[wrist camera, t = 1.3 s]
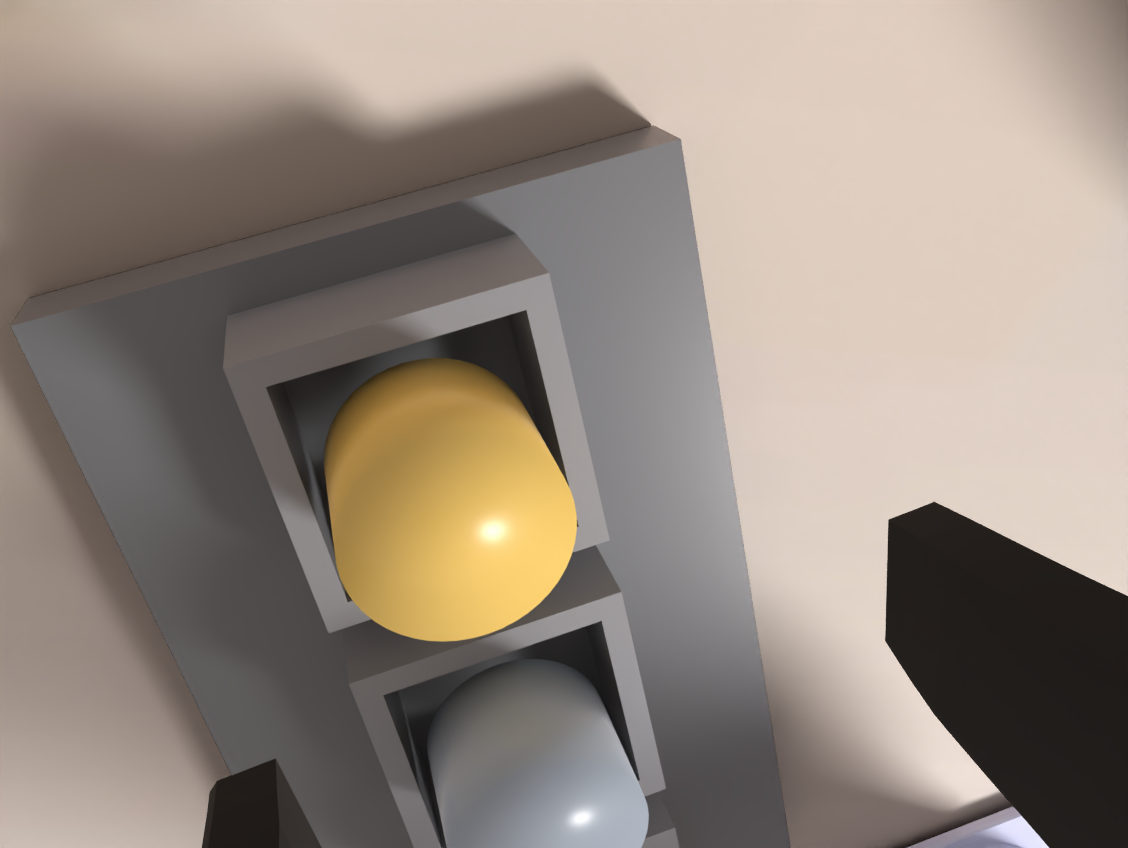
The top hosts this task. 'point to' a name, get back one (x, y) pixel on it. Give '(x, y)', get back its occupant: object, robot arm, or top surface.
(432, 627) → the amber button
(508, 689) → the slate button
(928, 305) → the top surface
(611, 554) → the panel
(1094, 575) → the top surface
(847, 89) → the top surface
